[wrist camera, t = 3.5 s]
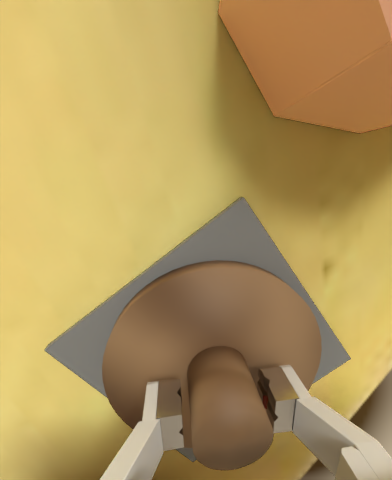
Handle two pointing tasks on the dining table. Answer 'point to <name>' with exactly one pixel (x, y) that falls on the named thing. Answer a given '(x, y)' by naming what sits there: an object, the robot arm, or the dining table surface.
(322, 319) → the mat
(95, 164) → the dining table surface
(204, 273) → the lid
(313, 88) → the bowl
